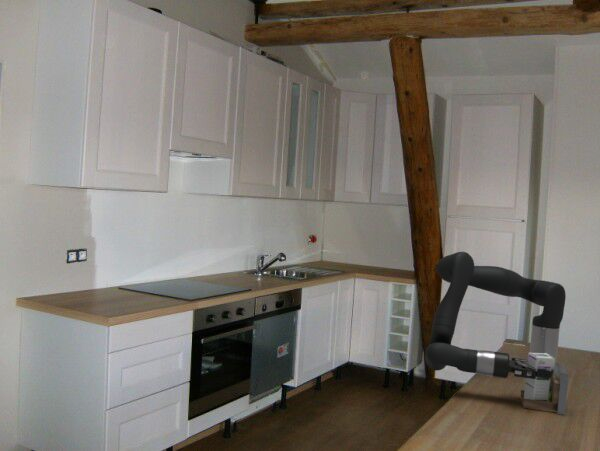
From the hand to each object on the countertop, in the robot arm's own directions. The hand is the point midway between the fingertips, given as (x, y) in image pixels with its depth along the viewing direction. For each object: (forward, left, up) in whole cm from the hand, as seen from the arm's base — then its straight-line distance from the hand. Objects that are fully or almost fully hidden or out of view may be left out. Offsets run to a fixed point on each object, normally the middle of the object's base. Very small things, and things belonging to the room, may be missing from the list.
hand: (549, 371), depth 192 cm
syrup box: (0, -3, -10) cm, 10 cm away
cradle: (0, -2, -11) cm, 11 cm away
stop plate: (0, +3, -11) cm, 11 cm away
